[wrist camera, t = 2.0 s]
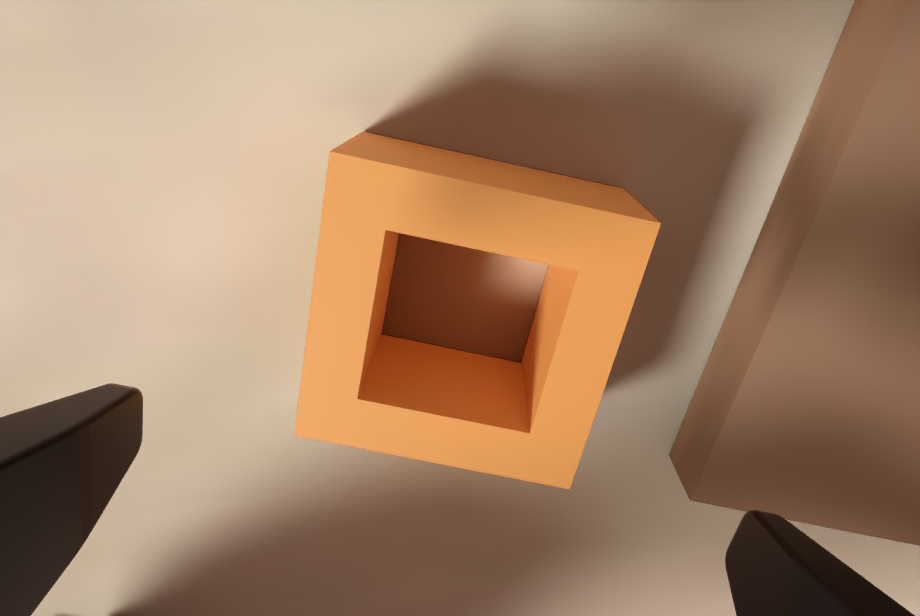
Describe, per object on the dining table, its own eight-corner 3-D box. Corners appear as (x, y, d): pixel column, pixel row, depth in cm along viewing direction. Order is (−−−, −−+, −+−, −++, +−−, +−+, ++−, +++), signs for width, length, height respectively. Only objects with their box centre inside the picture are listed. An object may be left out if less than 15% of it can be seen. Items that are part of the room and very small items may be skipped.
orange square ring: (554, 410, 18) (570, 489, 14) (329, 365, 17) (294, 435, 14) (623, 188, 15) (661, 223, 12) (362, 131, 15) (329, 151, 12)
